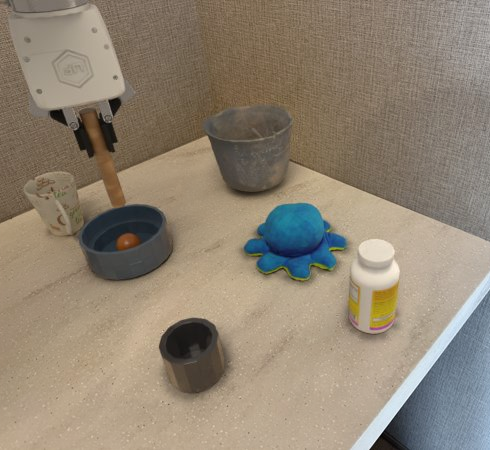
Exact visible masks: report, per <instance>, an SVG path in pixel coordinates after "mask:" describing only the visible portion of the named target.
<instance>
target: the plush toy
mask: <svg viewBox="0 0 490 450" xmlns="http://www.w3.org/2000/svg"><path fill="white" fill-rule="evenodd" d="M256 231H257V235H258V237H259V238H251V239H249V240H248V241H247V242H246V243H245V244H244V247H243V252H244V253H245V255H246V256H248V257H251V256H252V257H257V256H260V258H258V259H257V261H256V265H255V266H256V269H257V270H258V271H259V272H261V273H263V274H265V275H268V274H272V273H273V272H276V271H278V270H280V269H284V270H285V272H286V273H287V275H288V276H289V277H290V278H291V279H294V280H297V281H299V280H300V281H301V282H303V281H304V282H305V281H308V280H309V279H310V278H311V276H312V272H311V266H315V267H318V268H319V269H321V270H328V271H333V270H334V268H335V267H336V265H337V258H336V257H335V255H334V254H333V252H332V251H333V250H334V251H335V250H342V251H343V250H345V249H346V248H347V247H348V242H347V239H346V238H345V236H344V235H343V236H342V235H340V234H338V233H335V232H334V233H333V232H331V231H332V226H331V224H330V222H329V221H327V220H325V219H324V218H323V216H322V213H321V212H320V210H319V209H318V208H317V207H316V206H314V205H313V204H311V203H309V202H297V203H282V204H279V205H276V206H275V207H274V208H273V209H272V210H271V211H270V212H269V214H268V215H267V216H266V219H265V221H264V222H263V223H261V224H259V225H258V226H257V229H256Z"/></svg>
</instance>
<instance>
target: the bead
mask: <svg viewBox="0 0 490 450" xmlns="http://www.w3.org/2000/svg"><path fill="white" fill-rule="evenodd" d="M140 244H141V241H140V239H139V237H138V236H137V235H135V234H133V233H125V234H123V235H121V236H120V237H119V238H118V240H117V243H116V246H117V249H118V251H124V250H127V249H130V248H133V247H136V246H139V245H140Z"/></svg>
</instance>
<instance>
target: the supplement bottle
mask: <svg viewBox="0 0 490 450" xmlns="http://www.w3.org/2000/svg"><path fill="white" fill-rule="evenodd" d="M400 276H401V270H400V266H399V265H398V262H397V261H396V260H395V247H394V246H393V245H392V244H391V243H390V242H388V241H387V240H383V239H379V238H370V239H366V240H364V241H362V242H361V243H360V244H359V245H358V248H357V256H356V257H355V258H354V259H353V260H352V262H351V263H350V267H349V281H348V282H349V283H348V285H349V286H348V318H349V322H350V323H351V324H352V326H353V327H354V328H355V329H357V330H359V331H360V332H363V333H365V334H370V335H371V334H372V335H373V334H381V333H384V332H386V331H388V330H389V329H390V328H391V327H392V326H393V324H394V322H395V318H396V311H397V304H398V303H397V301H398V296H399V295H398V294H399V285H400V279H401V278H400Z"/></svg>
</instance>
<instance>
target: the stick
mask: <svg viewBox="0 0 490 450" xmlns="http://www.w3.org/2000/svg"><path fill="white" fill-rule="evenodd" d="M78 115H79V118H80V120H81V122H82V123H83V126H84V127H85V130H86V133H87V135H88V138H89V141H90V144H91V147H92V150H93V153H94V156H93V158H94V159H95V162H96V163H95V164H96V165H97V167H98V171H99V174H100V177H101V180H102V182H103V185H104V188H105V191H106V195H107V196H108V199H109V202H110V205H111V208H118V207H122V206H124V205H127V200H126V198H125V197H126V196H125V195H124V191H123V188H122V184H121V182H120V178H119V176H118V172H117V169H116V167H115V163H114V161H113V158H112V155H111V154H112V153H111V152H109V149H108V146H107V143H106V140H105V137H104V134H103V131H102V128H101V125H100V121H99V114H98V112H97V109H96V108H95V107H85V108H82V109H80V110H78Z"/></svg>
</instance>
